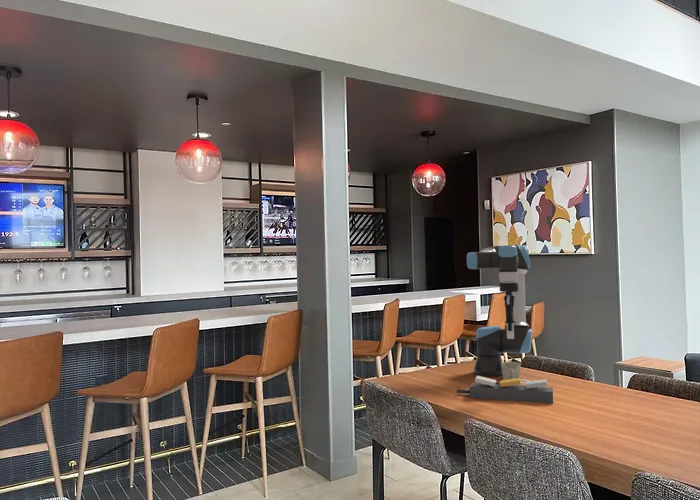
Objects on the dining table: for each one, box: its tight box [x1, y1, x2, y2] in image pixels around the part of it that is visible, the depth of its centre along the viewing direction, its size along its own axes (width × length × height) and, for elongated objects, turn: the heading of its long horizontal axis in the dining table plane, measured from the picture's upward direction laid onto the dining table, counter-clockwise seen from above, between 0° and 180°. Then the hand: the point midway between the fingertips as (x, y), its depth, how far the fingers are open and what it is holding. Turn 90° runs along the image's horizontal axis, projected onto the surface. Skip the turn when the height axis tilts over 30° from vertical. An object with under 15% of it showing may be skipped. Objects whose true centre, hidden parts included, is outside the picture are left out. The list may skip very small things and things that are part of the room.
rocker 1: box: [474, 375, 497, 387], centre depth 219 cm, size 5×8×2 cm, turn 69°
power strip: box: [456, 382, 554, 404], centre depth 217 cm, size 8×38×5 cm, turn 69°
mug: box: [501, 361, 521, 380], centre depth 235 cm, size 8×13×10 cm, turn 174°
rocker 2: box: [499, 377, 522, 387], centre depth 216 cm, size 5×8×2 cm, turn 69°
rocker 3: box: [525, 378, 548, 389], centre depth 212 cm, size 5×8×2 cm, turn 69°
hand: (510, 338), depth 222 cm, fingers closed
